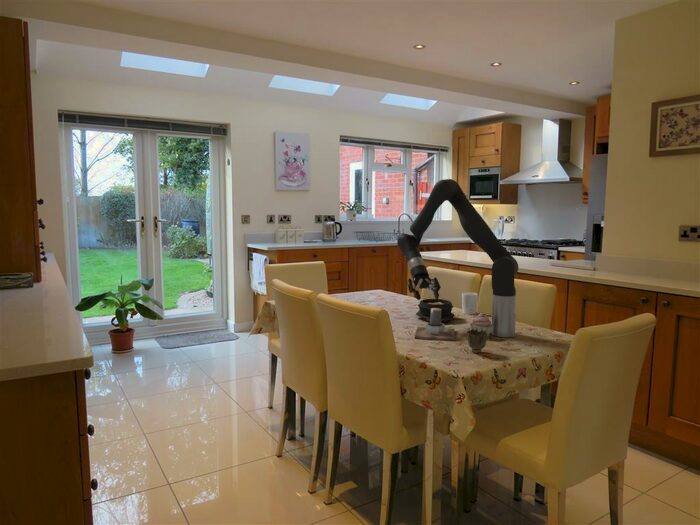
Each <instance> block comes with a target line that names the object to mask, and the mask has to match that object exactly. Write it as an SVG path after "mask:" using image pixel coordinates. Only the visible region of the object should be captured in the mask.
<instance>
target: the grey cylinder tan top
mask: <svg viewBox="0 0 700 525" xmlns="http://www.w3.org/2000/svg"><path fill="white" fill-rule="evenodd" d="M429 323H430V326H440V325H441V323H442V321H441V309H439V308H431V314H430V320H429Z"/></svg>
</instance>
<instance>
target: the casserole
mask: <svg viewBox="0 0 700 525" xmlns="http://www.w3.org/2000/svg"><path fill="white" fill-rule="evenodd" d="M417 307H418V308H419V309H418V311H417V312H416V313H415V314H416V316H417V317H419V318H422V319H423V320H427V321H430V314H431V308H439V309H441V322H448V321H453V320H454V317H455V316H456V314H455V313H453V312H452V310H453V308H454V306H453V303H452V301H450V300H449V299H448V300H447V299H444V298H443V299H441V298H438V299H435V298H425V299H420V300H419V302H418V304H417Z"/></svg>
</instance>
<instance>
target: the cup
mask: <svg viewBox="0 0 700 525" xmlns="http://www.w3.org/2000/svg"><path fill="white" fill-rule="evenodd" d="M487 334H488V332H487V333H486V331H483V330H481V331H479V332H478V330H477V329H476V330H473V329H472V328H471V330H470V329H468V330H466V336H467V337H466V338H467V343H468V346H469V347H470V348H471V352H472V353H473V354H481V353H482V352H483V350H482V349H484V348H485V347H486V344H487V340H488V337H487Z"/></svg>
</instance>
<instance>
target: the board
mask: <svg viewBox="0 0 700 525" xmlns="http://www.w3.org/2000/svg"><path fill="white" fill-rule="evenodd" d="M414 339H416V340H431V341H432V340H433V341H446V342H447V341H449V342H455V340H456V339H455V328H446V327H444V334H441V335H431V334H428V333H426V326H425V327H424V326H417V327H416V330H415V334H414Z"/></svg>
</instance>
